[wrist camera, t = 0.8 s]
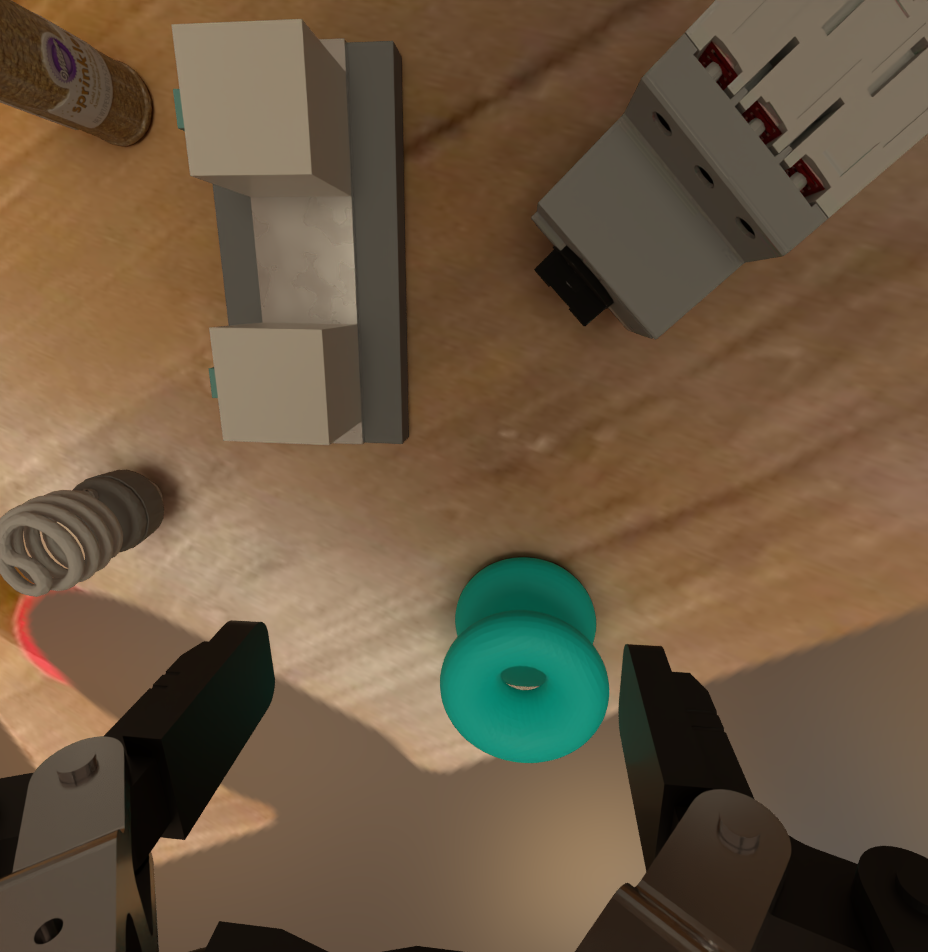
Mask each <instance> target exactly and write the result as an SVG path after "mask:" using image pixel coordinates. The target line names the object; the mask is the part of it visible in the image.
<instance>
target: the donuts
mask: <svg viewBox="0 0 928 952" xmlns="http://www.w3.org/2000/svg"><path fill="white" fill-rule="evenodd" d="M455 624H456V632H457V636H458V637H457V638H456V640H455V641H454V642H453V644H452V645H451V647H450V648H449V650H448V652H447V654H446V656H445V659H444V662H443V665H442V669H441V675H440V691H441V697H442V702H443V705H444V708H445V711H446V713H447V715H448V717H449V718H450V720H451V722H452V724H453V725H454V726H455V728H456V729H457V730H458V732H459V733H460V734H461V735H462V736H463V737H464V738H465V739H466V740H467V741H469V742H470V743H471V744H472V745H474V746H475V747H477V748H478V749H480V750H482V751H483V752H485V753H488V754H490V755H492V756H494V757H497V758H500V759H503V760H508V761H513V762H521V763H538V762H545V761H550V760H554V759H558V758H561V757H563V756H565V755H568V754H570V753H572V752H573V751H575V750H577V749H578V748H580V747H581V746H582V745H584V744H585V743H586V742H587V741H588V740H589V739H590V738H591V737H592V735H594V733H595V732H596V731H597V729H598V728H599V726H600V724H601V723H602V721H603V719H604V716H605V713H606V710H607V706H608V701H609V682H608V676H607V671H606V668H605V665H604V663H603V661H602V659H601V657H600V655H599V653H598V652H597V650H596V649H595V647H594V646H593V642H594V638H595V633H596V616H595V611H594V607H593V604H592V601H591V599H590V597H589V595H588V593H587V591H586V590H585V588H584V587H583V586H582V584H581V583H580V582H579V581H578V580H577V579H576V578H575V577H574V576H573V575H572V574H571V573H569V572H568V571H566V570H565V569H563V568H562V567H560V566H558V565H556V564H554V563H551V562H548V561H545V560H541V559H537V558H529V557H518V558H510V559H505V560H501V561H498V562H496V563H493V564H491V565H489V566H487V567H485V568H484V569H482V570H481V571H480V572H478V573H477V574H476V575H475V576H474V577H473V578H472V579H471V580H470V581H469V582H468V584H467V585H466V586H465V588H464V589H463V591H462V593H461V595H460V598H459V601H458V604H457V608H456V614H455ZM506 683H507V684H506ZM508 684H510V685H515V686H524V687H533V686H539V687H537V688H535V689H531V690H519V689H516V688H513V687H511V686H509V685H508Z"/></svg>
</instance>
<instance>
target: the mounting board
mask: <svg viewBox="0 0 928 952" xmlns="http://www.w3.org/2000/svg"><path fill="white" fill-rule="evenodd" d="M347 50H348V72H349V95H350V118H351V140H352V163H353V186H354V208H355V231H356V254H357V276H358V299H359V322H360V344H361V367H362V390H363V412H364V435H365V442H368V443H392V444H403V443H404V441H405V440H406V439H407V438H408V437H409V425H408V373H407V321H406V269H405V216H404V164H403V112H402V60H401V55H400V53H399V51H398V49H397V47H396V45H395V44H394V42H393V41H379V42H352V43H347ZM213 191H214V200H215V209H216V218H217V226H218V235H219V244H220V253H221V262H222V270H223V279H224V288H225V297H226V306H227V314H228V323H229V326H231V325H241V324H252V323H263V322H262V311H261V301H260V291H259V280H258V270H257V259H256V249H255V238H254V228H253V217H252V207H251V197H249V196H246V195H243V194H240V193H238V192H235V191H232V190H229V189H226V188H224V187H221V186H218V185H215V184H213Z"/></svg>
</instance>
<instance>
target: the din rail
mask: <svg viewBox="0 0 928 952" xmlns="http://www.w3.org/2000/svg"><path fill="white" fill-rule="evenodd" d="M320 42H321V43H322V44H323V45H324V46H325V48H326V49H327V50H328V51H329V53H330V54H331V55H332V56H333V57H334V59H335V60H336V61H337V62H338V63H339V65H340V66H341V67H342V68H343V69H344V71H345V72H346V89H347V111H348V133H349V155H350V177H351V196H332V197H251V207H252V217H253V228H254V238H255V249H256V259H257V270H258V280H259V291H260V301H261V311H262V322H263V323H318V324H357V331H358V353H359V375H360V397H361V419H362V422H360V423H359V424H357V425H356V426H355V427H353V428H352V429H351V430H349V431H348V432H347V433H345V434H344V435H342V436H341V437H340V438H338V439H337V440H336V441H334V442H333V443H344V444H364V443H365V435H364V412H363V390H362V367H361V344H360V322H359V299H358V276H357V254H356V231H355V208H354V186H353V163H352V140H351V118H350V95H349V72H348V50H347V42H346V40H345V39H320Z"/></svg>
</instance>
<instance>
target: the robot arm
mask: <svg viewBox="0 0 928 952" xmlns="http://www.w3.org/2000/svg"><path fill="white" fill-rule="evenodd" d="M274 688H275V677H274V670H273V663H272V656H271V649H270V643H269V636H268V630H267V627H266V625H265V624H264V623H263V622H249V621H232V620H231V621H228V622H227V623H226V624H225V625H224V626H223V627H222V628H221V629H220V630H219V631H218V632H217V633H216V634H215V636H214V637H213V638H212V639H211V640H210V641H209V642H205V641H204V642H202V643H200V644H199V645H197V646H195V647H194V648H192V649H191V650H189V651H187V652H186V653H184V654H183V655H181V656H180V657H179V658H178V659H177V660H176V661H175V662H174V663H173V664H172V666H171V667H170V668H169V669H168V670H167V671H166V674H165V675H162V676H161V677H160V678H159V679H158V680H157V681H156V682H155V683H154V684H153V688H152V689H149V690H148V691H147V692H146V693H145V694H144V695H143V696H142V697H141V698H140V699H139V700H138V701H137V702H136V703H135V704H134V705H133V706H132V707H131V708H130V709H129V710H128V711H127V713H125V715H124V716H123V717H122V718H121V719H120V720H119V721H118V722H117V723H116V724H115V725H114V726H113V727H112V728H111V729H110V730H109V731H108V732H107V733H106V734H105V735H104V736H101V737H93V738H88V739H84V740H81V741H78V742H75V743H73V744H71V745H68V746H66V747H64V748H63V749H61V750H59V751H57V752H56V753H54V754H53V755H52V756H50V757H49V758H48V759H46V760H45V761H44V762H43V763H42V764H41V765H40V766H39V767H38V768H37V769H36V771H35V772H34V773H29V774H23V775H18V776H12V777H6V778H1V779H0V952H159V945H158V929H157V911H156V894H155V878H154V862H153V857H152V853H151V850H152V849H153V848H154V846H155V845H156V843H157V842H158V840H159V839H160V837H163V838H172V839H182V840H185V839H186V837H187V836H188V834H189V833H190V831H191V829H192V828H193V826H194V825H195V823H196V822H197V820H198V818H199V817H200V815H201V814H202V812H203V810H204V809H205V807H206V806H207V804H208V803H209V801H210V799H211V798H212V796H213V795H214V793H215V791H216V790H217V788H218V787H219V785H220V784H221V782H222V780H223V779H224V777H225V776H226V774H227V773H228V771H229V769H230V768H231V766H232V765H233V763H234V761H235V760H236V758H237V757H238V755H239V753H240V752H241V750H242V749H243V747H244V746H245V744H246V742H247V741H248V739H249V738H250V736H251V735H252V733H253V731H254V730H255V728H256V726H257V725H258V723H259V722H260V720H261V718H262V717H263V716H264V714H265V712H266V711H267V709H268V707H269V706H270V703H271V701H272V698H273V693H274ZM619 729H620V736H621V741H622V747H623V752H624V757H625V763H626V768H627V773H628V778H629V784H630V789H631V794H632V799H633V804H634V809H635V815H636V820H637V825H638V830H639V836H640V841H641V846H642V851H643V856H644V862H645V866H646V874H645V875H644V877H643V878H642V880H641V881H640V882H639V884H638V885H637V886H636V887H633V886H632V885H630V884H629V883H625V884H624V885H622V886H621V887H620V888H619V889H618V890H617V891H616V893H615V894H614V895H613V897H612V898H611V900H610V901H609V903H608V904H607V905H606V907H605V908H604V910H603V911H602V913H601V914H600V916H599V917H598V919H597V920H596V922H595V923H594V925H593V926H592V927H591V929H590V930H589V932H588V933H587V935H586V936H585V938H584V939H583V940H582V942H581V943H580V945H579V946H578V948H577V950H576V951H575V952H928V859H927V858H925V857H923V856H921V855H919V854H917V853H914V852H912V851H909V850H906V849H902V848H898V847H892V846H878V847H873V848H870V849H868V850H867V851H865V852H864V853H863V854H862V856H861V857H860V860H859V863H858V864H856V863H853V862H850V861H848V860H845V859H842V858H839V857H837V856H834V855H831V854H828V853H826V852H823V851H820V850H817V849H815V848H812V847H809V846H807V845H805V844H803V843H801V842H799V841H797V840H795V839H794V838H792V837H791V836H789V835H788V833H787V831H786V829H785V828H784V826H783V824H782V823H781V822H780V821H779V819H778V818H777V817H776V816H775V815H774V814H773V813H772V812H771V811H770V810H769V809H768V808H766V807H765V806H764V805H763V804H761V803H759V802H758V801H756V800H755V799H754V797H753V795H752V792H751V790H750V788H749V785H748V783H747V781H746V778H745V776H744V774H743V772H742V769H741V767H740V765H739V762H738V760H737V758H736V755H735V753H734V751H733V748H732V746H731V744H730V741H729V739H728V737H727V734H726V733H725V732H724V727H723V725H722V723H721V720H720V718H719V716H718V715H717V712H716V709H715V707H714V704H713V702H712V700H711V697H710V695H709V692H708V691H707V690H706V689H705V688H704V687H703V686H702V685H701V684H700V683H699V682H698V681H697V680H696V679H695V678H694V677H693V676H692V675H691V674H690V673H683V672H672V671H671V668H670V665H669V663H668V660H667V657H666V654H665V651H664V649H663V647H662V646H648V645H631V644H626V645H625V647H624V652H623V663H622V674H621V685H620V696H619ZM190 952H328V951H326V950H324V949H321V948H319V947H317V946H315V945H313V944H311V943H309V942H307V941H305V940H303V939H301V938H299V937H297V936H295V935H293V934H291V933H288V932H287V931H285V930H283V929H277V928H269V927H261V926H253V925H245V924H236V923H229V922H221V921H219V923H218V925H217V927H216V929H215V931H214V933H213V935H212V937H211V939H210V941H209V943H208V945H207V947H205V948H200V949H196V950H193V951H190ZM384 952H461V951H453V950H445V949H437V948H429V947H421V946H414V947H408V948H402V949H396V950H390V951H384Z"/></svg>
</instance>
